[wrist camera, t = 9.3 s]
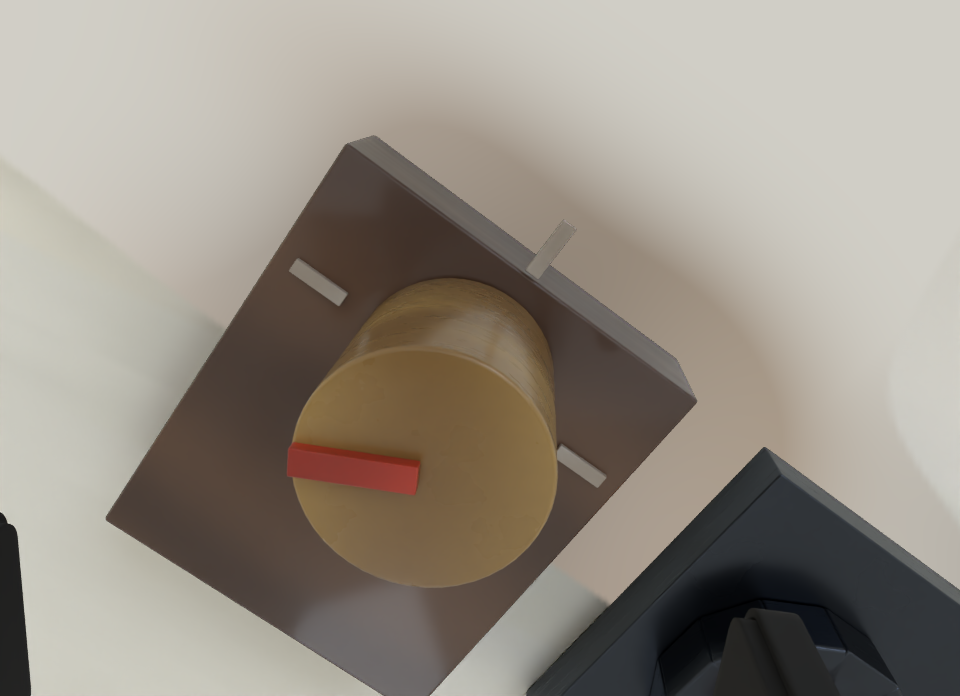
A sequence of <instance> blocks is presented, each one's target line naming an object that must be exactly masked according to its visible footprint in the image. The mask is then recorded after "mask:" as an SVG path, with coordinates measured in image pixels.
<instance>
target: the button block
mask: <svg viewBox="0 0 960 696" xmlns="http://www.w3.org/2000/svg"><path fill="white" fill-rule="evenodd" d="M751 608H757V609H765V610H773V611H781V612H788V613H795V614H797V615H799V617H800V618H801V619H802V621H803V623H804V625H805V627H806V629H807V631H808V633H809V635H810V637H811V639H812V641H813V642H814V644H815V646H816V648H817V650H818V652H819V654H820V656H821V658H822V660H823V662H824V664H825V666H826V668H827V670H828V672H829V674H830V676H831V678H832V680H833V681H834V683H835V685H836V687H837V689H838V691H839V693H840V695H841V696H960V590H959V589H957V588H956V587H955V586H953V585H952V584H951V583H949V582H948V581H947V580H945V579H944V578H943V577H941V576H940V575H939V574H937V573H936V572H934V571H933V570H932V569H930V568H929V567H927V566H926V565H925V564H924V563H922V562H921V561H920V560H918V559H917V558H915V557H914V556H913V555H911V554H910V553H909V552H907V551H906V550H905V549H903V548H902V547H900V546H899V545H898V544H896V543H895V542H894V541H892V540H891V539H890V538H888V537H887V536H885V535H884V534H883V533H882V532H880V531H879V530H877V529H876V528H875V527H873V526H872V525H870V524H869V523H868V522H867V521H865V520H863V518H861V517H860V516H858V515H857V514H856V513H854V512H853V511H852V510H850V509H849V508H847V507H846V506H844V504H842V503H841V502H839V501H838V500H837V499H835V498H834V497H833V496H831V495H830V494H829V493H827V492H826V491H825V490H823V489H822V488H820V487H819V486H817V485H816V484H815V483H814V482H812V481H811V480H809V479H808V478H807V477H806V476H804V475H802V474H801V473H800V472H799V471H797V470H796V469H795V468H793V467H792V466H790V465H789V464H788V463H787V462H785V461H784V460H782V459H781V458H779V457H778V456H777V455H776V454H774V453H773V452H771V451H770V450H769V449H767V448H766V447H763V448H762V449H761V450H760V452H758V454H757V455H755V457H754V458H753V459H752V460H751V461H750V462H749V463H748V464H747V465H746V466H745V467H744V468H743V469H742V470H741V471H740V472H739V473H738V474H737V475H736V476H735V477H734V478H733V479H732V480H731V481H730V482H729V483H728V484H727V486H725V487H724V489H723V490H722V491H721V492H720V493H719V494H718V495H717V496H716V497H715V498H714V499H713V500H712V501H711V502H710V503H709V504H708V505H707V506H706V507H705V508H704V509H703V510H702V511H701V512H700V513H699V514H698V515H697V516H696V518H694V520H693V521H692V522H691V523H690V524H689V525H688V526H687V527H686V528H685V529H684V530H683V531H682V532H681V533H680V534H679V535H678V536H677V537H676V538H675V539H674V540H673V541H672V542H671V543H670V544H669V546H667V547H666V548H665V549H664V551H662V553H661V554H660V555H659V556H658V557H657V558H656V559H655V560H654V561H653V562H652V563H651V564H650V565H649V566H648V567H647V568H646V569H645V570H644V571H643V572H642V573H641V574H640V575H639V576H638V577H637V578H636V579H635V580H634V581H633V582H632V583H631V584H630V586H629V587H628V588H627V589H626V590H625V591H624V592H623V593H622V594H621V595H620V596H619V597H618V598H617V599H616V600H615V601H614V602H613V603H612V604H611V605H610V606H609V607H608V608H607V609H606V610H605V611H604V612H603V613H602V614H601V615H600V616H599V618H598V619H597V620H596V621H595V622H594V623H593V624H592V625H591V626H590V627H589V628H588V629H587V630H586V631H585V632H584V633H583V634H582V635H581V636H580V637H579V638H578V639H577V640H576V641H575V642H574V643H573V644H572V645H571V646H570V647H569V648H568V650H567V651H566V652H565V653H564V654H563V655H562V656H561V657H560V658H559V659H558V660H557V661H556V662H555V663H554V664H553V665H552V666H551V667H550V668H549V669H548V670H547V671H546V672H545V673H544V674H543V675H542V676H541V677H540V678H539V679H538V680H537V682H536V683H535V684H534V685H533V686H532V687H531V688H530V689H529V690H528V691H527V693H526V696H713V693H714V689H715V684H716V680H717V676H718V672H719V668H720V664H721V659H722V655H723V651H724V647H725V643H726V639H727V634H728V630H729V627H730V623H731V621H732V620H733V619H734V618H743V619H744V618H745V615H746V613H747V612H748V610H749V609H751Z"/></svg>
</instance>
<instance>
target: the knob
mask: <svg viewBox="0 0 960 696" xmlns="http://www.w3.org/2000/svg"><path fill="white" fill-rule="evenodd" d="M287 476H289V477H293V483H294V487H295V490H296V494H297V497H298V500H299V502H300V505H301V507H302V509H303V511H304V513H305V515H306V517H307V519H308V520H309V522H310V523H311V525H312V527H313V528H314V529H315V531H316V532H317V533H318V534H319V536H320V537H321V538H322V539H323V541H324V542H325V543H326V544H327V545H328V546H330V547H331V548H332V549H333V550H334V551H335V552H336V553H337V554H338V555H340V556H341V557H342V558H344V559H345V560H346V561H348V562H349V563H351V564H352V565H354V566H356V567H357V568H359V569H361V570H362V571H364V572H367V573H369V574H371V575H373V576H375V577H377V578H380V579H383V580H387V581H390V582H393V583H397V584H402V585H406V586H413V587H423V588H443V587H450V586H458V585H462V584H466V583H470V582H474V581H477V580H479V579H482V578H485V577H487V576H490V575H492V574H493V573H495V572H497V571H499V570H501V569H503V568H504V567H506V566H507V565H509V564H510V563H511V562H513V561H514V560H516V559H517V558H518V557H519V556H520V555H521V554H522V553H523V552H524V551H525V550H526V549H527V548H528V547H529V546H530V545H531V544H532V543H533V541H534V540H535V539H536V538H537V536H538V535H539V533H540V532H541V530H542V528H543V527H544V525H545V523H546V522H547V519H548V517H549V515H550V512H551V510H552V507H553V503H554V500H555V496H556V491H557V481H558V464H557V438H556V412H555V386H554V366H553V360H552V355H551V352H550V349H549V346H548V343H547V340H546V338H545V336H544V334H543V332H542V330H541V329H540V327H539V326H538V324H537V323H536V321H535V320H534V319H533V317H532V316H531V315H530V314H529V313H528V312H527V311H526V310H525V309H524V308H523V307H522V306H521V305H520V304H519V303H517V302H516V301H515V300H514V299H512V298H511V297H509V296H508V295H506V294H505V293H503V292H501V291H499V290H497V289H495V288H493V287H491V286H488V285H485V284H482V283H480V282H476V281H471V280H466V279H456V278H442V279H433V280H427V281H423V282H419V283H416V284H413V285H410V286H408V287H406V288H404V289H402V290H400V291H398V292H397V293H395V294H393V295H392V296H390V297H389V298H387V299H386V300H385V301H384V302H383V303H382V304H381V305H380V306H378V307H377V309H376V310H375V311H374V312H373V313H372V314H371V316H370V317H369V318H368V319H367V321H366V322H365V323H364V325H363V326H362V327H361V329H360V330H359V331H358V333H357V334H356V335H355V337H354V338H353V340H352V341H351V342H350V344H349V345H348V346H347V348H346V349H345V350H344V352H343V353H342V354H341V356H340V357H339V358H338V360H337V361H336V362H335V364H334V365H333V366H332V368H331V369H330V370H329V372H328V373H327V374H326V376H325V377H324V378H323V380H322V381H321V382H320V384H319V385H318V386H317V388H316V389H315V390H314V392H313V393H312V395H311V396H310V398H309V399H308V401H307V402H306V404H305V406H304V407H303V409H302V412H301V414H300V416H299V418H298V421H297V424H296V427H295V431H294V434H293V439H292V444H291V446H290V447H289V448H288V459H287Z"/></svg>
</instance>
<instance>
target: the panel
mask: <svg viewBox="0 0 960 696" xmlns="http://www.w3.org/2000/svg"><path fill="white" fill-rule="evenodd" d="M575 231H576V228H575V227H574V226H572V225H571V224H570V223H568V222H567V221H565V220H563V221H562V222H561V223H560V224H559V226H558V227H557V228H556V230H555V231H554V232H553V234H552V235H551V236H550V238H549V239H548V240H547V241H546V243H545V244H544V245H543V247H542V248H541V249H540V251H539V252H538V253H537V254H534V253H533V252H532V251H530V250H529V249H528V248H526V247H525V246H524V245H522V244H521V243H519V242H518V241H517V240H515V239H514V238H513V237H511V236H510V235H509V234H507V233H506V232H505V231H503V230H502V229H501V228H499V227H498V226H496V225H495V224H494V223H493V222H491V221H490V220H488V219H487V218H486V217H484V216H483V215H482V214H480V213H479V212H478V211H476V210H475V209H474V208H472V207H471V206H470V205H468V204H467V203H465V202H464V201H463V200H462V199H460V198H459V197H457V196H456V195H455V194H453V193H452V192H451V191H449V190H448V189H447V188H445V187H444V186H443V185H441V184H440V183H439V182H437V181H436V180H435V179H433V178H432V177H430V176H429V175H428V174H426V173H425V172H424V171H422V170H421V169H420V168H418V167H417V166H416V165H414V164H413V163H412V162H410V161H409V160H407V159H406V158H405V157H404V156H402V155H401V154H399V153H398V152H397V151H395V150H394V149H392V148H391V147H390V146H388V145H387V144H386V143H385V142H383V141H382V140H380V139H379V138H378V137H377V136H371V137H367V138H364V139H360V140H357V141H354V142H351V143H347V144H346V145H345V146H344V147H343V149H342V150H341V152H340V154H339V155H338V157H337V158H336V160H335V161H334V163H333V165H332V166H331V168H330V169H329V171H328V172H327V174H326V175H325V177H324V178H323V180H322V182H321V183H320V185H319V186H318V188H317V189H316V191H315V192H314V194H313V196H312V197H311V199H310V200H309V202H308V203H307V205H306V207H305V208H304V210H303V211H302V213H301V214H300V216H299V217H298V219H297V220H296V222H295V223H294V225H293V227H292V228H291V230H290V231H289V233H288V234H287V236H286V238H285V239H284V241H283V242H282V244H281V245H280V247H279V248H278V250H277V252H276V253H275V255H274V256H273V258H272V259H271V261H270V262H269V264H268V265H267V267H266V269H265V270H264V272H263V274H262V275H261V277H260V278H259V279H258V281H257V283H256V284H255V286H254V287H253V289H252V291H251V292H250V293H249V295H248V297H247V298H246V300H245V301H244V303H243V304H242V306H241V308H240V309H239V311H238V312H237V314H236V315H235V317H234V318H233V320H232V321H231V323H230V325H229V326H228V328H227V329H226V331H225V332H224V334H223V335H222V337H221V339H220V340H219V342H218V343H217V345H216V346H215V348H214V349H213V351H212V352H211V354H210V356H209V357H208V359H207V360H206V362H205V363H204V365H203V366H202V368H201V370H200V371H199V373H198V374H197V376H196V377H195V379H194V380H193V382H192V384H191V385H190V387H189V388H188V390H187V391H186V393H185V394H184V396H183V398H182V399H181V401H180V402H179V404H178V405H177V407H176V408H175V410H174V412H173V413H172V415H171V416H170V418H169V419H168V421H167V422H166V424H165V426H164V427H163V429H162V430H161V432H160V433H159V435H158V436H157V438H156V440H155V441H154V443H153V444H152V446H151V447H150V449H149V450H148V452H147V454H146V455H145V457H144V458H143V460H142V461H141V463H140V464H139V466H138V468H137V469H136V471H135V472H134V474H133V475H132V477H131V478H130V480H129V482H128V483H127V485H126V486H125V488H124V489H123V491H122V492H121V494H120V495H119V497H118V499H117V500H116V502H115V503H114V505H113V506H112V508H111V509H110V511H109V513H108V514H107V516H106V521H108V522H109V523H111V524H113V525H114V526H116V527H117V528H119V529H120V530H122V531H124V532H125V533H127V534H128V535H130V536H132V537H133V538H135V539H136V540H138V541H139V542H141V543H143V544H144V545H146V546H147V547H149V548H151V549H152V550H154V551H155V552H157V553H158V554H160V555H162V556H163V557H165V558H166V559H168V560H170V561H171V562H173V563H174V564H176V565H177V566H179V567H181V568H182V569H184V570H185V571H187V572H189V573H190V574H192V575H193V576H195V577H196V578H198V579H200V580H201V581H203V582H204V583H206V584H208V585H209V586H211V587H212V588H214V589H216V590H217V591H219V592H220V593H222V594H223V595H225V596H227V597H228V598H230V599H231V600H233V601H235V602H236V603H238V604H239V605H241V606H242V607H244V608H246V609H247V610H249V611H250V612H252V613H254V614H255V615H257V616H258V617H260V618H261V619H263V620H265V621H266V622H268V623H269V624H271V625H273V626H274V627H276V628H277V629H279V630H280V631H282V632H284V633H285V634H287V635H288V636H290V637H292V638H293V639H295V640H296V641H298V642H299V643H301V644H303V645H304V646H306V647H307V648H309V649H311V650H312V651H314V652H315V653H317V654H318V655H320V656H322V657H323V658H325V659H326V660H328V661H330V662H331V663H333V664H334V665H336V666H337V667H339V668H341V669H342V670H344V671H345V672H347V673H349V674H350V675H352V676H353V677H355V678H356V679H358V680H360V681H361V682H363V683H364V684H366V685H368V686H369V687H371V688H372V689H374V690H375V691H377V692H379V693H380V694H382V695H383V696H430V695H431V694H432V693H433V691H434V690H435V689H436V688H437V687H438V686H439V685H440V684H441V683H442V682H443V680H444V679H445V678H446V677H447V676H448V675H449V674H450V673H451V672H452V671H453V669H454V668H455V667H456V666H457V665H458V664H459V663H460V662H461V661H462V660H463V659H464V657H465V656H466V655H467V654H468V653H469V652H470V651H471V650H472V649H473V648H474V646H475V645H476V644H477V643H478V642H479V641H480V640H481V639H482V638H483V637H484V635H485V634H486V633H487V632H488V631H489V630H490V629H491V628H492V627H493V626H494V625H495V623H496V622H497V621H498V620H499V619H500V618H501V617H502V616H503V615H504V614H505V612H506V611H507V610H508V609H509V608H510V607H511V606H512V605H513V604H514V603H515V601H516V600H517V599H518V598H519V597H520V596H521V595H522V594H523V593H524V592H525V591H526V589H527V588H528V587H529V586H530V585H531V584H532V583H533V582H534V581H535V580H536V578H537V577H538V576H539V575H540V574H541V573H542V572H543V571H544V570H545V569H546V568H547V566H548V565H549V564H550V563H551V562H552V561H553V560H554V559H555V558H556V557H557V555H558V554H559V553H560V552H561V551H562V550H563V549H564V548H565V547H566V546H567V544H568V543H569V542H570V541H571V540H572V539H573V538H574V537H575V536H576V535H577V534H578V532H579V531H580V530H581V529H582V528H583V527H584V526H585V525H586V524H587V523H588V521H589V520H590V519H591V518H592V517H593V516H594V515H595V514H596V513H597V511H598V510H599V509H600V508H601V507H602V506H603V505H604V504H605V503H606V502H607V501H608V500H609V498H610V497H611V496H612V495H613V494H614V493H615V492H616V491H617V490H618V489H619V487H620V486H621V485H622V484H623V483H624V482H625V481H626V480H627V479H628V478H629V476H630V475H631V474H632V473H633V472H634V471H635V470H636V469H637V468H638V467H639V466H640V464H641V463H642V462H643V461H644V460H645V459H646V458H647V457H648V456H649V455H650V453H651V452H652V451H653V450H654V449H655V448H656V447H657V446H658V445H659V443H661V441H662V440H663V439H664V438H665V437H666V436H667V435H668V434H669V433H670V432H671V430H672V429H673V428H674V427H675V426H676V425H677V424H678V423H679V422H680V421H681V419H682V418H683V417H684V416H685V415H686V414H687V413H688V412H689V411H690V410H691V408H692V407H693V406H694V405H695V404H696V403H697V399H696V397H695V395H694V393H693V391H692V389H691V387H690V385H689V383H688V381H687V379H686V377H685V375H684V373H683V371H682V369H681V367H680V365H679V363H678V361H677V359H676V358H675V357H673V356H672V355H671V354H669V353H668V352H667V351H665V350H664V349H662V348H661V347H660V346H658V345H657V344H656V343H654V342H653V341H652V340H650V339H649V338H648V337H646V336H645V335H644V334H642V333H641V332H640V331H638V330H637V329H636V328H634V327H633V326H631V325H630V324H629V323H627V322H626V321H625V320H623V319H622V318H621V317H619V316H618V315H617V314H615V313H614V312H613V311H611V310H610V309H608V308H607V307H606V306H604V305H603V304H602V303H600V302H599V301H598V300H596V299H595V298H594V297H592V296H591V295H590V294H588V293H587V292H586V291H584V290H583V289H581V288H580V287H579V286H578V285H576V284H575V283H573V282H572V281H571V280H569V279H568V278H567V277H565V276H564V275H563V274H561V273H560V272H559V271H557V270H556V269H554V268H553V267H552V266H550V263H551V262H552V261H553V260H554V258H555V257H556V256H557V255H558V253H559V252H560V251H561V249H562V248H563V247H564V246H565V244H566V243H567V242H568V240H569V239H570V238H571V237H572V235H573V234H574V233H575ZM442 278H456V279H466V280H471V281H476V282H480V283H482V284H485V285H488V286H491V287H493V288H495V289H497V290H499V291H501V292H503V293H505V294H506V295H508V296H509V297H511V298H512V299H514V300H515V301H516V302H517V303H519V304H520V305H521V306H522V307H523V308H524V309H525V310H526V311H527V312H528V313H529V314H530V315H531V316H532V317H533V319H534V320H535V321H536V323H537V324H538V326H539V327H540V329H541V330H542V332H543V334H544V336H545V338H546V340H547V343H548V346H549V349H550V352H551V355H552V360H553V366H554V386H555V412H556V438H557V464H558V481H557V491H556V496H555V500H554V503H553V507H552V510H551V512H550V515H549V517H548V519H547V522H546V523H545V525H544V527H543V528H542V530H541V532H540V533H539V535H538V536H537V538H536V539H535V540H534V541H533V543H532V544H531V545H530V546H529V547H528V548H527V549H526V550H525V551H524V552H523V553H522V554H521V555H520V556H519V557H518V558H517V559H516V560H514V561H513V562H511V563H510V564H509V565H507V566H506V567H504V568H503V569H501V570H499V571H497V572H495V573H493V574H492V575H490V576H487V577H485V578H482V579H479V580H477V581H474V582H470V583H466V584H462V585H458V586H450V587H443V588H423V587H413V586H406V585H402V584H397V583H393V582H390V581H387V580H383V579H380V578H377V577H375V576H373V575H371V574H369V573H367V572H364V571H362V570H361V569H359V568H357V567H356V566H354V565H352V564H351V563H349V562H348V561H346V560H345V559H344V558H342V557H341V556H340V555H338V554H337V553H336V552H335V551H334V550H333V549H332V548H331V547H330V546H328V545H327V544H326V543H325V542H324V541H323V539H322V538H321V537H320V536H319V534H318V533H317V532H316V531H315V529H314V528H313V527H312V525H311V523H310V522H309V520H308V519H307V517H306V515H305V513H304V511H303V509H302V507H301V505H300V502H299V500H298V497H297V494H296V490H295V487H294V483H293V477H289V476H287V459H288V448H289V447H290V446H291V444H292V439H293V434H294V431H295V427H296V424H297V421H298V418H299V416H300V414H301V412H302V409H303V407H304V406H305V404H306V402H307V401H308V399H309V398H310V396H311V395H312V393H313V392H314V390H315V389H316V388H317V386H318V385H319V384H320V382H321V381H322V380H323V378H324V377H325V376H326V374H327V373H328V372H329V370H330V369H331V368H332V366H333V365H334V364H335V362H336V361H337V360H338V358H339V357H340V356H341V354H342V353H343V352H344V350H345V349H346V348H347V346H348V345H349V344H350V342H351V341H352V340H353V338H354V337H355V335H356V334H357V333H358V331H359V330H360V329H361V327H362V326H363V325H364V323H365V322H366V321H367V319H368V318H369V317H370V316H371V314H372V313H373V312H374V311H375V310H376V309H377V307H378V306H380V305H381V304H382V303H383V302H384V301H385V300H386V299H387V298H389V297H390V296H392V295H393V294H395V293H397V292H398V291H400V290H402V289H404V288H406V287H408V286H410V285H413V284H416V283H419V282H423V281H427V280H433V279H442Z"/></svg>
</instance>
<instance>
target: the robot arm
mask: <svg viewBox="0 0 960 696" xmlns="http://www.w3.org/2000/svg"><path fill="white" fill-rule="evenodd" d="M0 696H31V683H30V672H29V660H28V649H27V638H26V626H25V615H24V604H23V592H22V581H21V570H20V558H19V547H18V536H17V531H16V529H15V527H14V526H13V525H11V524H7V520H6V518H5V516H4V515H3V514H2V513H1V512H0ZM713 696H841V695H840V693H839V691H838V689H837V687H836V685H835V683H834V681H833V680H832V678H831V676H830V674H829V672H828V670H827V668H826V666H825V664H824V662H823V660H822V658H821V656H820V654H819V652H818V650H817V648H816V646H815V644H814V642H813V641H812V639H811V637H810V635H809V633H808V631H807V629H806V627H805V625H804V623H803V621H802V619H801V618H800V617H799V615H797V614H795V613H788V612H781V611H773V610H765V609H757V608H751V609H749V610H748V612H747V613H746V615H745V618H744V619H743V618H734V619H733V620H732V621H731V623H730V627H729V630H728V634H727V639H726V643H725V647H724V651H723V655H722V659H721V664H720V668H719V672H718V676H717V680H716V684H715V689H714V693H713Z"/></svg>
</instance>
